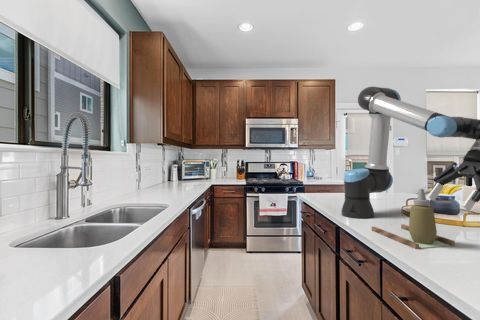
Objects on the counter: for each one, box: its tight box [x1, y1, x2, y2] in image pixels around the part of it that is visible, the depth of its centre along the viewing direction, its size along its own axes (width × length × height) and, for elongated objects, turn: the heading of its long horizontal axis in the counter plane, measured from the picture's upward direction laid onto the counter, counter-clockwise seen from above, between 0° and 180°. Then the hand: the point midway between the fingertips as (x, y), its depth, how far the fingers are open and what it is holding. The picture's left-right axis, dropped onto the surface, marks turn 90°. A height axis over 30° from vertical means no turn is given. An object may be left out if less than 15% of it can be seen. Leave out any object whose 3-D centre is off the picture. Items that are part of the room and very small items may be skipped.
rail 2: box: [400, 224, 456, 247], centre depth 96 cm, size 22×1×2 cm, turn 8°
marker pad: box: [404, 236, 451, 249], centre depth 89 cm, size 10×11×1 cm
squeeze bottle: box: [408, 188, 438, 244], centre depth 89 cm, size 8×8×18 cm
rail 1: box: [371, 226, 420, 250], centre depth 94 cm, size 22×1×2 cm, turn 8°
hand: (447, 203), depth 92 cm, fingers open, 13 cm apart
